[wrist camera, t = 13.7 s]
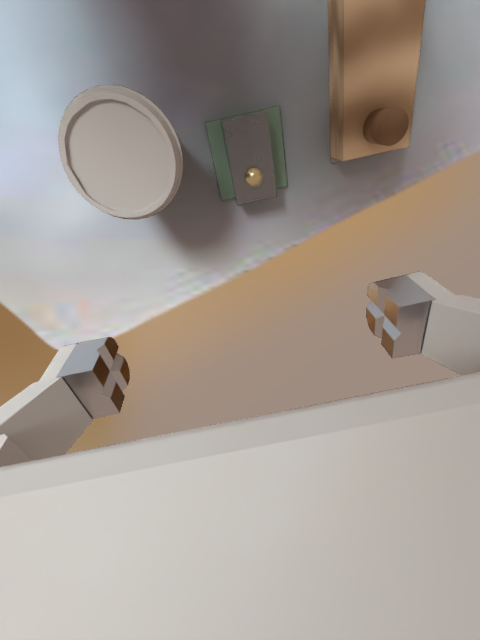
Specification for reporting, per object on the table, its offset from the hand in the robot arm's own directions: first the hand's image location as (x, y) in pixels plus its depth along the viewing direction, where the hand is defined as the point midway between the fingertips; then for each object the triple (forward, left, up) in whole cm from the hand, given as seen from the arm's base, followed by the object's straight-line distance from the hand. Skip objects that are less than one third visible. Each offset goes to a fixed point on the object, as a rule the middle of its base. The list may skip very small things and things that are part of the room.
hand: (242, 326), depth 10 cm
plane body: (-9, +17, -31) cm, 37 cm away
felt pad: (-1, +4, -31) cm, 31 cm away
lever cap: (-1, +4, -30) cm, 31 cm away
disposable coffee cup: (-4, -7, -31) cm, 32 cm away
